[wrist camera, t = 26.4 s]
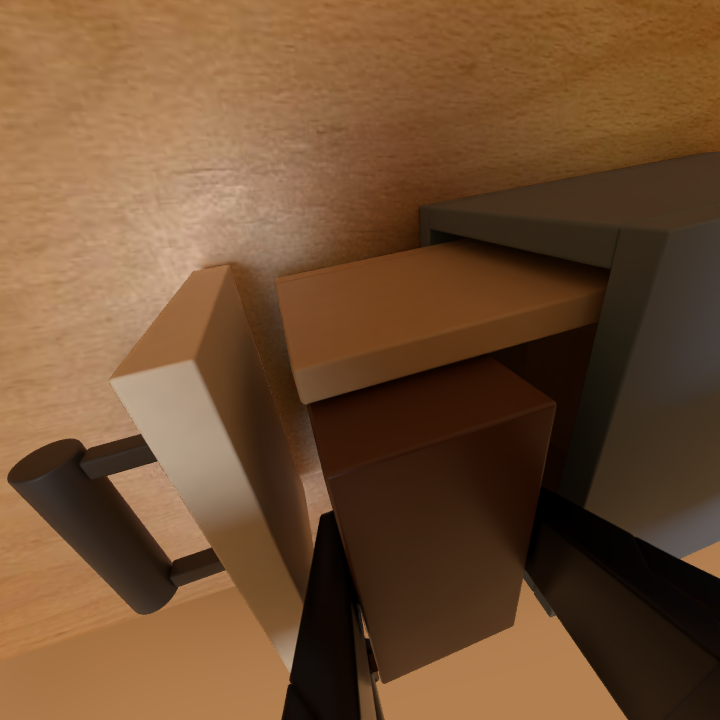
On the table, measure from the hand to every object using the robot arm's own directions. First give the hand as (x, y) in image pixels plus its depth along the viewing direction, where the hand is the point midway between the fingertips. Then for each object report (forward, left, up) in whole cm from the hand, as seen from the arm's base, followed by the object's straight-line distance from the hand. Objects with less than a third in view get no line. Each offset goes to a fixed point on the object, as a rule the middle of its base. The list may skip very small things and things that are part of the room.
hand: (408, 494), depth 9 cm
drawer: (0, 0, -6) cm, 6 cm away
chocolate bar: (0, 0, -1) cm, 1 cm away
